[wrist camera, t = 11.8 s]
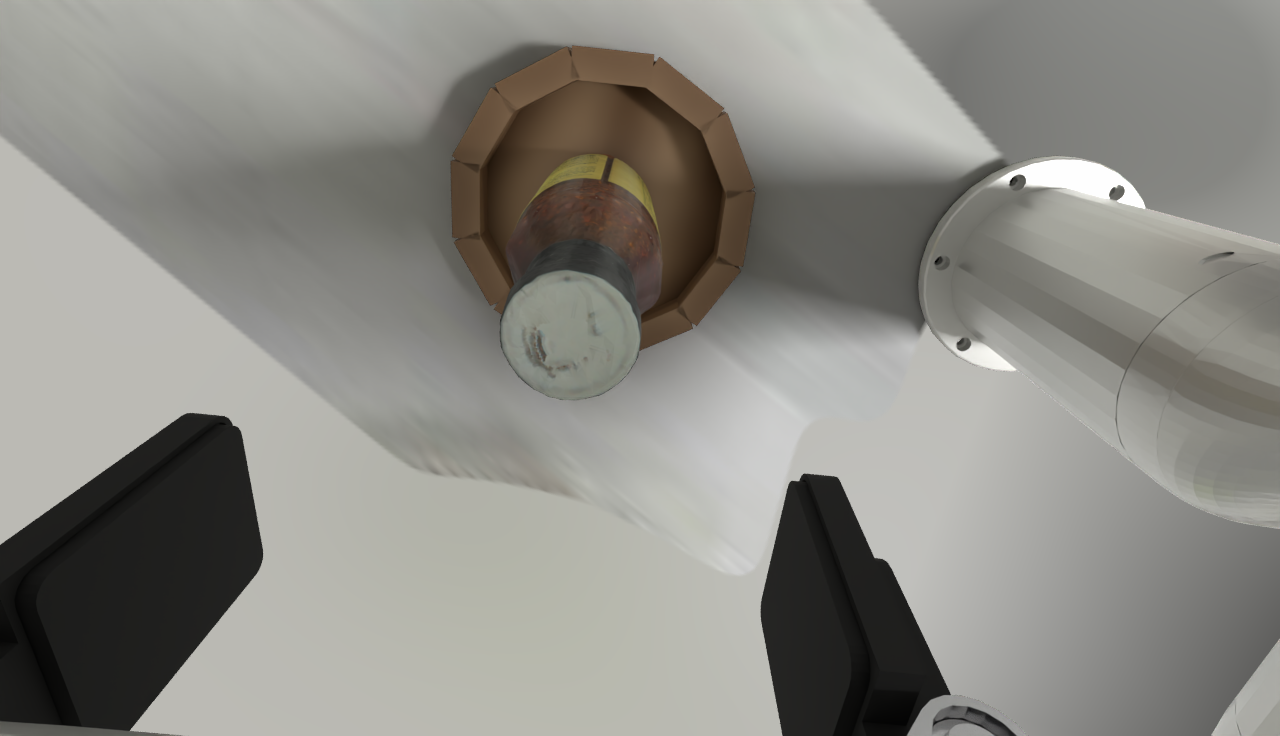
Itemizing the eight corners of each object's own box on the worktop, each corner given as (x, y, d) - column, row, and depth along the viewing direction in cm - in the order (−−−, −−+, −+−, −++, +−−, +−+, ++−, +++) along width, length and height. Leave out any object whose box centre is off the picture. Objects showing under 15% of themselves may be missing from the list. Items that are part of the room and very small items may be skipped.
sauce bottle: (530, 243, 37) (415, 398, 19) (559, 133, 34) (458, 190, 16) (638, 278, 38) (628, 460, 20) (674, 173, 35) (700, 270, 17)
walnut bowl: (767, 68, 34) (776, 67, 31) (721, 348, 40) (726, 365, 38) (462, 34, 33) (447, 31, 31) (466, 323, 40) (454, 338, 38)
